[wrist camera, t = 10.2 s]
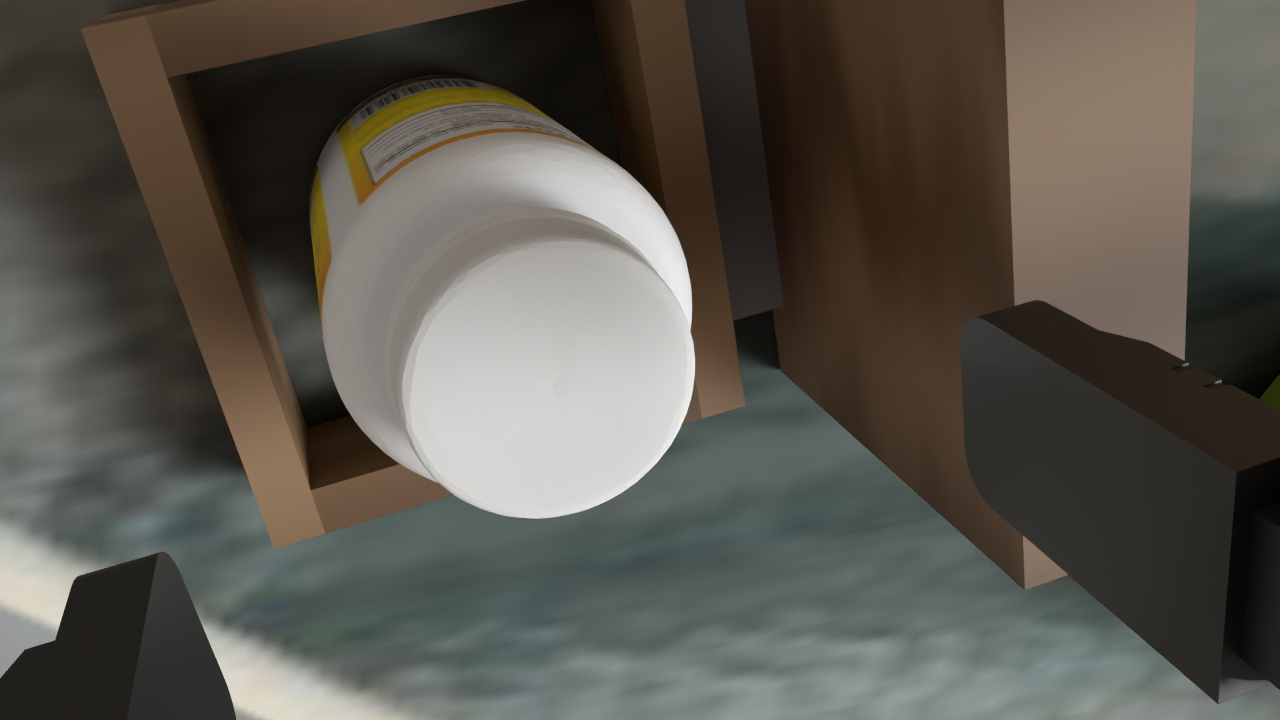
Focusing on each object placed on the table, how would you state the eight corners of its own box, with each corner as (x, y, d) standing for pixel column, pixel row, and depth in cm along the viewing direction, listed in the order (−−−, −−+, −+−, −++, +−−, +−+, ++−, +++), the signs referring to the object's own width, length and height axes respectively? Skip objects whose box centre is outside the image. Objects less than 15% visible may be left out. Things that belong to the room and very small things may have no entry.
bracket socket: (85, -43, 20) (-72, -12, 11) (843, -189, 23) (1205, -259, 14) (288, 517, 25) (293, 852, 16) (890, 338, 28) (1178, 534, 19)
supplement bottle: (474, 374, 25) (587, 637, 16) (252, 237, 22) (234, 456, 13) (624, 173, 24) (831, 328, 15) (412, 10, 22) (508, 76, 13)
